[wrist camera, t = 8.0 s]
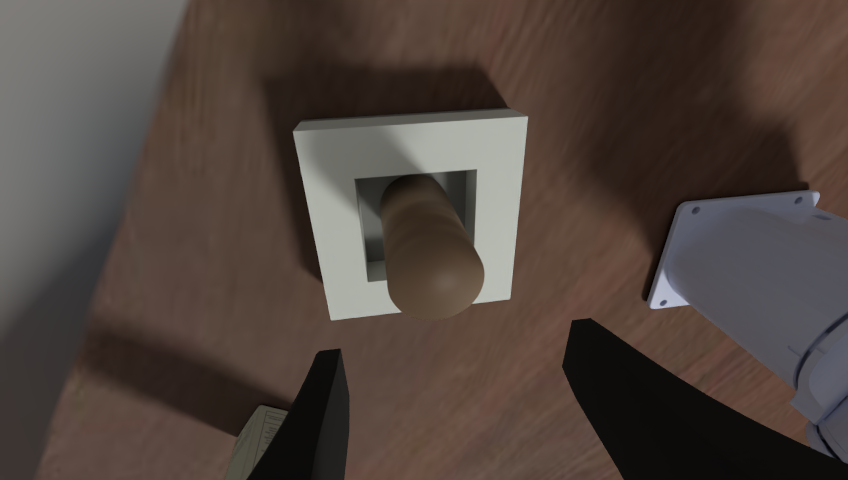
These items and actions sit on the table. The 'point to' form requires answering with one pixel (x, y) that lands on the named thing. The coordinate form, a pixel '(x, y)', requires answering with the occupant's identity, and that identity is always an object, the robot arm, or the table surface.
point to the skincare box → (254, 441)
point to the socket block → (398, 156)
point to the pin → (427, 251)
